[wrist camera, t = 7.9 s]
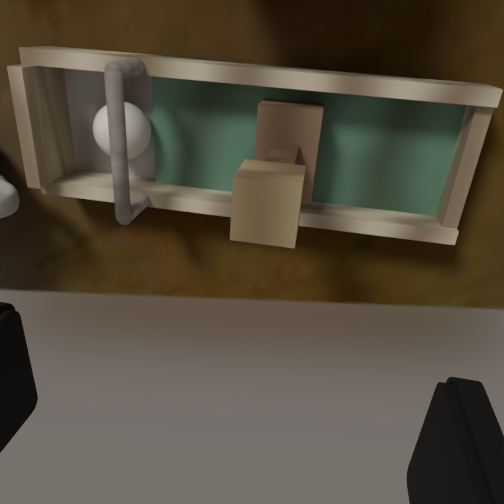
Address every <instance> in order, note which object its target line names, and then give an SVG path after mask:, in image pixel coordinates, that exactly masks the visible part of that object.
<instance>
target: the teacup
mask: <svg viewBox="0 0 504 504" xmlns="http://www.w3.org/2000/svg"><path fill="white" fill-rule="evenodd" d="M18 207H19V196H18V192H17V190H16V188H15V187H14V186H13V185H11V184H10V183H8V182H7V181H6V179H5V178H4V177H3V176H1V175H0V218H4V217H7V216H9V215H12V214H13V213H14V212H16V211H17V209H18Z"/></svg>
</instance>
